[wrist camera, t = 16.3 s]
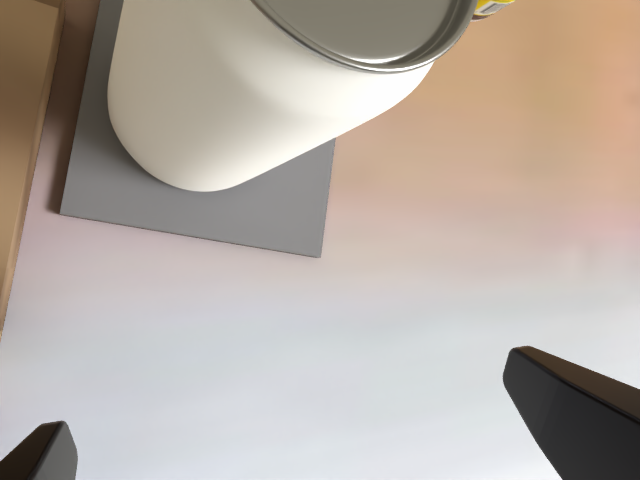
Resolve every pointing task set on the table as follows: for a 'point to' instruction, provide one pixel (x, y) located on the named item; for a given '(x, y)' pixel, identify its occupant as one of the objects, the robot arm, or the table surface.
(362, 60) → the can
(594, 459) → the robot arm
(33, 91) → the puzzle board
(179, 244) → the table surface
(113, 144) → the mat
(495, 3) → the supplement bottle
